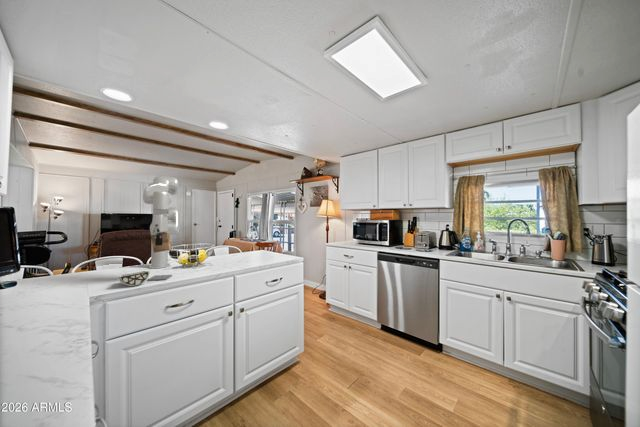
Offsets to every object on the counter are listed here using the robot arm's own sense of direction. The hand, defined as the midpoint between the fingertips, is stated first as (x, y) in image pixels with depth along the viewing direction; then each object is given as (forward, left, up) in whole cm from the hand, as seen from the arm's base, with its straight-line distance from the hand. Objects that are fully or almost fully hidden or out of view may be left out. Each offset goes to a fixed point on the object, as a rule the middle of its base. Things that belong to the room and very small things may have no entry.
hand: (160, 244), depth 133 cm
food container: (+5, -10, -18) cm, 21 cm away
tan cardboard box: (0, +1, -4) cm, 4 cm away
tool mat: (0, 0, -19) cm, 19 cm away
